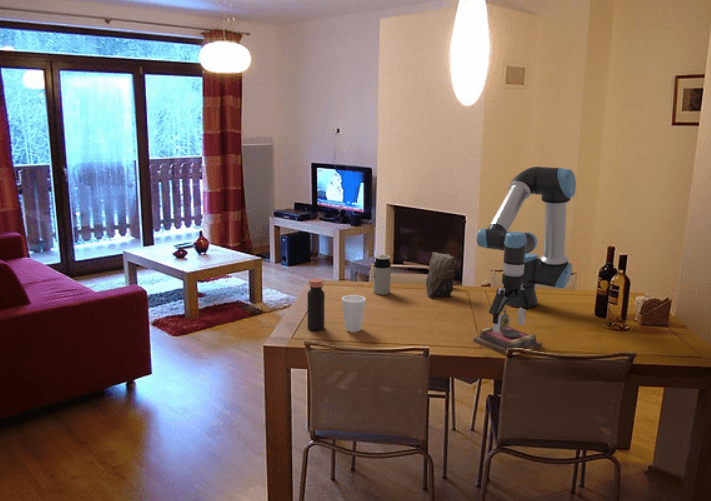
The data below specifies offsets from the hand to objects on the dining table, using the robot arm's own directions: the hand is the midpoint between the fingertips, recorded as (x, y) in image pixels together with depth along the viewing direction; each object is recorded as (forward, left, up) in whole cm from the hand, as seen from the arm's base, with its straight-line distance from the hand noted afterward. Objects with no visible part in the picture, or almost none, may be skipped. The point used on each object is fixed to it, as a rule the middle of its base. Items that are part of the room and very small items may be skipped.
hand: (508, 328), depth 225 cm
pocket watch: (0, 0, -3) cm, 3 cm away
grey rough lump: (-19, -61, -7) cm, 64 cm away
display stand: (0, 0, -6) cm, 6 cm away
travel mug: (+1, -78, -7) cm, 78 cm away
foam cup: (+41, -44, -7) cm, 61 cm away
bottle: (+53, -53, -7) cm, 75 cm away
